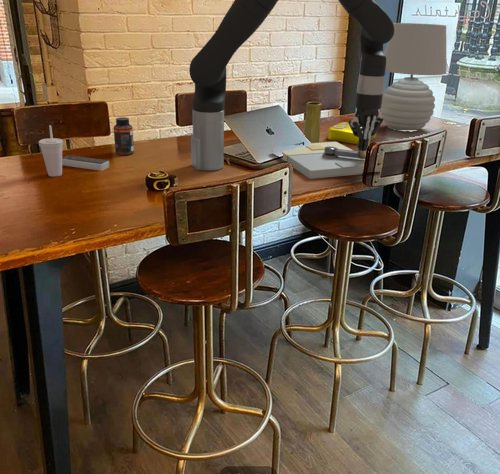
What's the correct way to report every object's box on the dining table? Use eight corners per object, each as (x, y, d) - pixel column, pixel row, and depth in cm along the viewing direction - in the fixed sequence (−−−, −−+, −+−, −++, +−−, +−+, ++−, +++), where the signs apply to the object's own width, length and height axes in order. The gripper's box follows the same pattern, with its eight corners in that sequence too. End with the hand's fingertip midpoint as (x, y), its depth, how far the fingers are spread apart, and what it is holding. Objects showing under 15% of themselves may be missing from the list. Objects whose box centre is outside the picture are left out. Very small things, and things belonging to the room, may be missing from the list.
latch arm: (322, 154, 163) (325, 132, 160) (325, 151, 166) (327, 129, 163) (366, 160, 159) (369, 137, 156) (368, 156, 162) (371, 134, 159)
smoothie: (53, 179, 143) (46, 129, 138) (38, 175, 146) (31, 125, 141) (71, 173, 148) (66, 124, 143) (56, 169, 151) (50, 121, 146)
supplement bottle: (138, 153, 169) (135, 118, 165) (122, 156, 165) (119, 121, 161) (127, 149, 173) (124, 115, 168) (111, 153, 169) (109, 118, 164)
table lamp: (386, 119, 230) (400, 22, 213) (443, 129, 217) (463, 25, 200) (361, 129, 211) (374, 23, 194) (423, 140, 198) (442, 27, 181)
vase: (318, 145, 185) (322, 105, 179) (301, 144, 186) (304, 104, 180) (320, 141, 191) (323, 102, 185) (303, 140, 192) (306, 101, 186)
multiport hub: (101, 172, 152) (101, 164, 151) (59, 166, 156) (59, 158, 155) (110, 167, 156) (109, 160, 155) (69, 162, 160) (68, 154, 159)
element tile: (364, 146, 188) (365, 133, 186) (325, 140, 195) (326, 127, 193) (376, 138, 200) (378, 125, 198) (340, 132, 207) (341, 120, 205)
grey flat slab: (310, 179, 151) (311, 169, 149) (272, 153, 175) (272, 144, 173) (381, 172, 159) (382, 163, 157) (335, 148, 183) (336, 140, 181)
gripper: (363, 95, 143) (356, 156, 150) (395, 91, 150) (386, 150, 157) (344, 91, 148) (337, 150, 156) (375, 88, 156) (368, 144, 163)
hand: (362, 150), depth 156 cm, fingers closed
